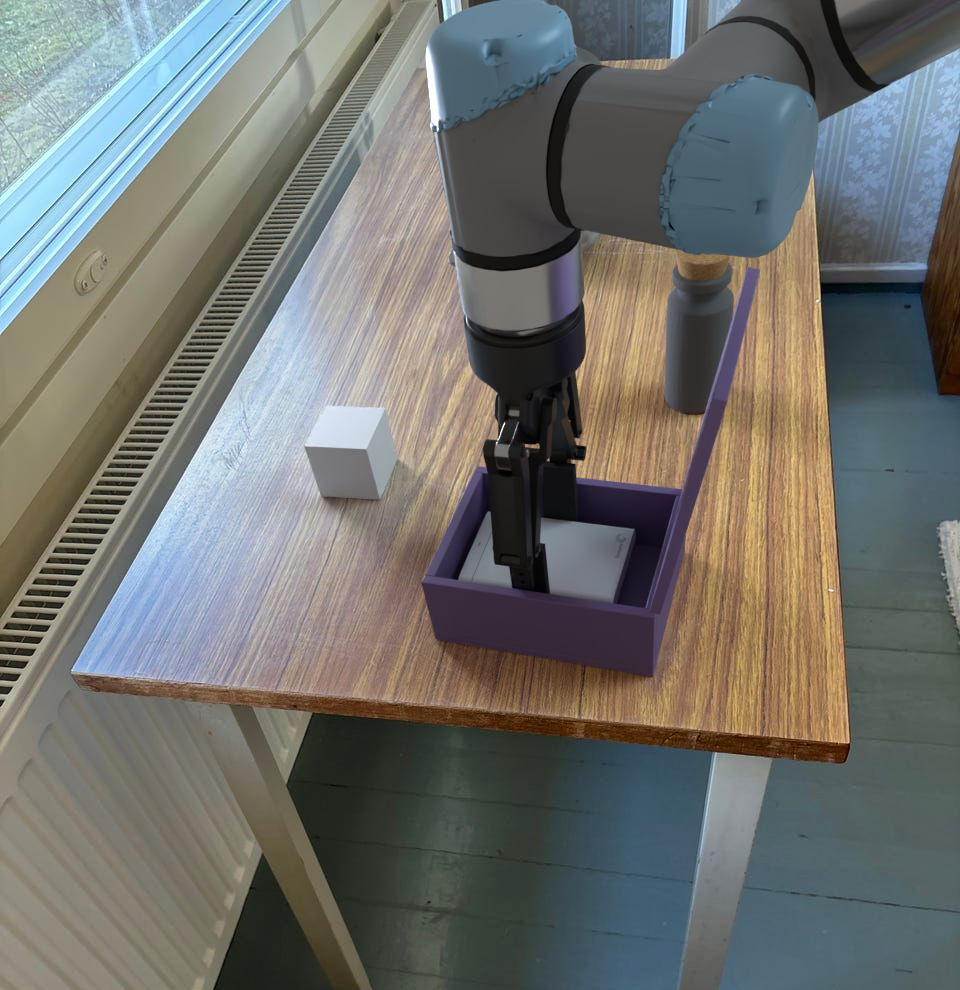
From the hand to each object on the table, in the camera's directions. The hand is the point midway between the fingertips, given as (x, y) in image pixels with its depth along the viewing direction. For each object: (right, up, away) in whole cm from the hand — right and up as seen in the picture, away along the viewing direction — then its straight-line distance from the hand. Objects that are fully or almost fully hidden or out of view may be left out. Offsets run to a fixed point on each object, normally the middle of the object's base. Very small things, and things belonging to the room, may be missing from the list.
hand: (548, 564), depth 74 cm
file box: (+1, -2, +2) cm, 4 cm away
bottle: (+16, +18, +17) cm, 29 cm away
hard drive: (0, 0, 0) cm, 0 cm away
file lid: (+9, +7, -13) cm, 17 cm away
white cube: (-17, +10, +16) cm, 25 cm away
